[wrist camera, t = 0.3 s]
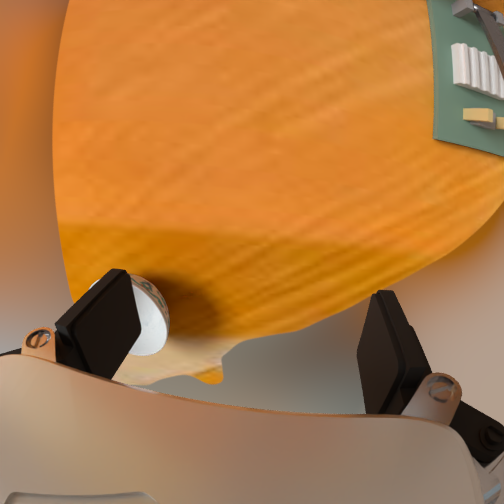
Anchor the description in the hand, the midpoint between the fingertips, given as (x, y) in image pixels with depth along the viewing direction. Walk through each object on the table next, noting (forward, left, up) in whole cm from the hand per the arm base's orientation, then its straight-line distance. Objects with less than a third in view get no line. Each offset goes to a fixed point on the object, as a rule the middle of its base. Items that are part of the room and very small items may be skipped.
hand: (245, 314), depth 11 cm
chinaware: (+21, -23, -31) cm, 44 cm away
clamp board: (-19, +28, -31) cm, 46 cm away
